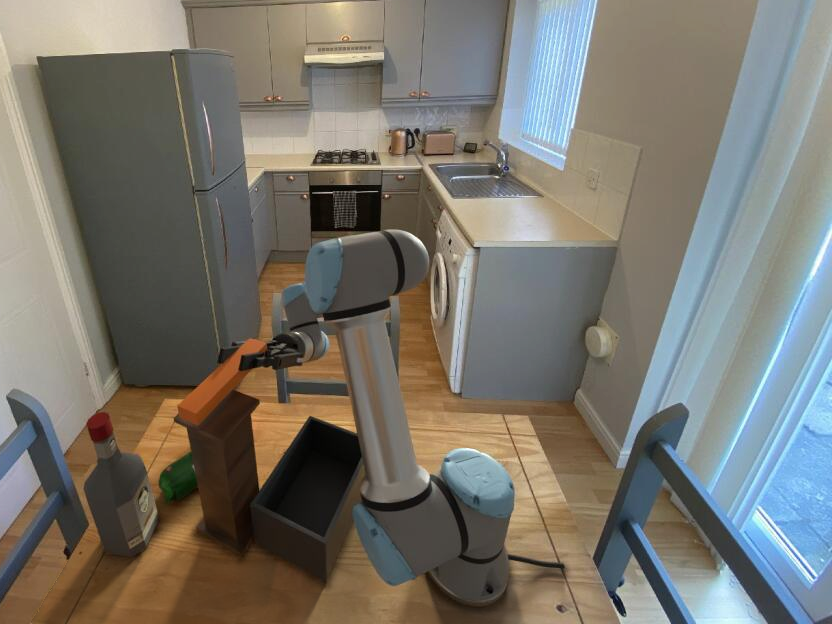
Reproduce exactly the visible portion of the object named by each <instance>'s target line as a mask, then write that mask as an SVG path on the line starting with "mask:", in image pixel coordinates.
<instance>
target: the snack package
mask: <svg viewBox="0 0 832 624" xmlns="http://www.w3.org/2000/svg"><path fill="white" fill-rule="evenodd" d="M158 488H159V489H160V490H161V492H162V493H163V496H164V503H165V504H167V503H170V502H172V501H179V500H181V499H183V498H184V497H186V496H187V495H188V494H190V493H191V492H192V491H195V489H198V484H197V479H196V474H195V469H194V464H193V459H192V454H191V451H189V452H188V453H186V454H184V455H182V456H181V457H179V458H178V459H176V460H175V461H173V462H172V463H170V464H168V465H167V466H166V467H165V468H163V470H162V471H161V472H160V475H159V478H158Z"/></svg>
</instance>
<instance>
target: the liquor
mask: <svg viewBox="0 0 832 624" xmlns="http://www.w3.org/2000/svg"><path fill="white" fill-rule="evenodd" d="M85 425H86V428H87V431H88V435H89V437H90V441H91V442H92V444H93V447H94V451H95V454H96V458H97V460H96V463H97V464H96V465H95V466H94V468H93V470H92V471H91V473H90V474H89V476H88V477H87V478H86V480H85V481H84V484H83V492H84V496H85V499H86V502H87V505H88V508H89V510H90V513H91V516H92V518H93V523H94V525H95V527H96V531H97V533H98V537H99V539H100V542H101V545H102V547H103V550H104V553H105V554H107V555H113V556H114V555H115V556H122V557H129V558H133V557H135V556H136V555H137V554H139V553H141V552H143V551H144V550H145V549H146V548H147V547H148V544H149V543H150V540H151V539H152V536H153V533H154V532H155V529H156V527H157V525H158V523H159V521H160V517H159V513H158V509H157V506H156V502H155V498H154V494H153V490H152V487H151V481H150V478H149V475H148V471H147V467H146V465H145V462H144V460H143V457H142V456H141V455H140V454H136V453H128V452H122V451H121V449H120V448H119V446H118V443H117V440H116V437H115V434H114V426H113V424H112V420H111V417H110V414H109V413H108V412H106V411H103V412H102V411H101V412H96V413H95V414H93V415H91V416H90V417H89V418H88V419H87V420H86V423H85Z"/></svg>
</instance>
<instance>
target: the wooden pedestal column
mask: <svg viewBox="0 0 832 624" xmlns="http://www.w3.org/2000/svg"><path fill="white" fill-rule="evenodd" d="M260 401H261V399H259V398H256V397H255V396H252V395H248V394H246V393H243V392H241V391H238V390H235V389H233V390H232V391H231V392H230V393H229V394H228V395H227V396H226V397H225V398H224V399H223V400H222V401H221V402H220V403H219V404H218V405H217V406H216V408H215V409H214V410H213V411H212V412H211V413H210V414H209V415H208V416H207V417H206V418H205V419H204V420H203V421H202V422H201V423H200V424H199V425H196V424H193V423H191V422H189V421H187V420H184V419H182V418H180V417H179V412H178V413H177V414H176V415H175V416H174V417H173V422H174V423H175V424H177V425H180V426H182V427H184V428H186V432H187V438H188V443H189V448H190V452H191V454H192V459H193V464H194V469H195V474H196V479H197V484H198V487H197V489H198V494H199V500H200V504H201V509H202V514H203V515H202V516H203V518H202V519H201V520H200V522H199V523H198V524H197V526H196V527H195V528H196V531H197V532H198V533H199V534H201V535H203V536H205V537H206V538H208V539H210V540H211V541H213V542H215V543H216V544H218V545H220V546H222V547H224V548H225V549H227V550H229V551H230V552H232V553H234V554H235V555H237V556H239V557H241V558H243V556H244V555H245V553H246V551H247V550H248V548H249V547H250V545H251V543H252V541H253V540H254V533H253V525H252V517H251V509H250V504H251V503H252V501H253V500H254V498H255V497H256V495H257V494H258V492H259V491H260V483H259V475H258V473H259V472H258V466H257V456H256V447H255V438H254V431H253V430H254V429H253V420H252V414H253V413H254V411H255V410H256V409H257V408H258V407H259V406H260V405H261V403H260Z"/></svg>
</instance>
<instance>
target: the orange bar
mask: <svg viewBox="0 0 832 624" xmlns="http://www.w3.org/2000/svg"><path fill="white" fill-rule="evenodd" d="M252 338H253V337H249V338H248V339H246V340H247V341H246V342H245V343H244V344H243V345H242V346H241V347H240V348H239V349H238V350H236V351H235V352H234V353H233V354H232V355H231V356H230V357H229V358H228V359H227V360H226V361H225V362H224V363H223V364H219V366H218V367H217V368H216V369H215V370H214V371H213V372H211V373H210V374H209V375H208V376H207V377H206V378H205V379H204V380H203V381H201V383H200V384H199V385H198V386H196V388H194V389H193V390H192V391H191V392H190V393H189V394H188V395H187V396H186V397H184V398H183V400H181V402H179V403H178V405H177V406H176V407H177V411H178V413H179V417H180V418H182V419H184V420H187V421H189V422H191V423H193V424H196V425H199V424H200V423H201V422H202V421H203V420H204V419H205V418H206V417H207V416H208V415H209V414H210V413H211V412H212V411H213V410H214V409H215V408H216V406H217V405H218V404H219V403H220V402H221V401H222V400H223V399H224V398H225V397H226V396H227V395H228V394H229V393H230V392H231V391H232V390H235V388H236V387H237V386H238V385H239V384H240V382H242V381H243V379H245V377H246V376H247V375H249V373H250V372H251V371H252V370H253V369H250V370H245V371H239V370H238V369H239V364H240V360H241V355H244V354H250V353H257V352H263V353H264V355H263V356H265V351H266V350H267V343H265V341H261V340H258V339H257V340H255V339H256V338H255V339H252Z"/></svg>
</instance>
